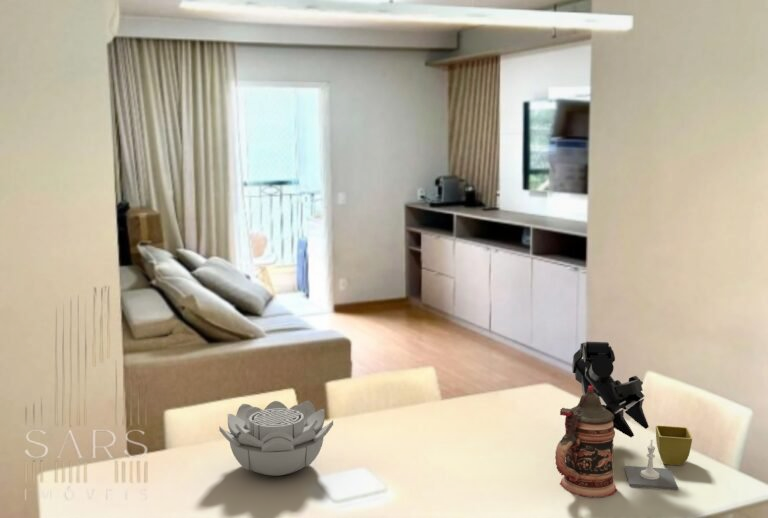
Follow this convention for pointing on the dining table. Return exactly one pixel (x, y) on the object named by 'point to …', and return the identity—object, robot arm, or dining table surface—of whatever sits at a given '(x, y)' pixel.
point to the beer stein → (587, 448)
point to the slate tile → (662, 482)
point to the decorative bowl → (276, 437)
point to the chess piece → (650, 465)
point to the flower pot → (673, 444)
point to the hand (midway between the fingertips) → (640, 432)
